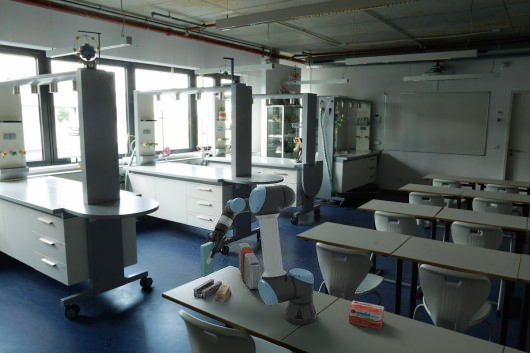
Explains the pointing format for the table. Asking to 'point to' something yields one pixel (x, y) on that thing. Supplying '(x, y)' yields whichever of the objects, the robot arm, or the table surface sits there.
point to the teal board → (204, 254)
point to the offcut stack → (223, 293)
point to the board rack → (207, 289)
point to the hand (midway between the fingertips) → (204, 262)
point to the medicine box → (366, 314)
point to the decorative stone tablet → (249, 266)
